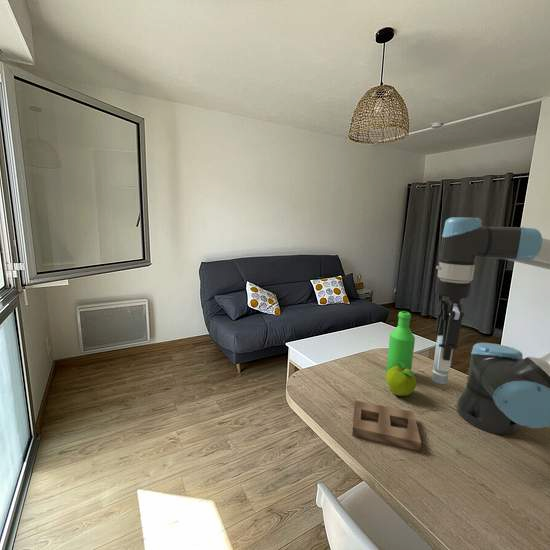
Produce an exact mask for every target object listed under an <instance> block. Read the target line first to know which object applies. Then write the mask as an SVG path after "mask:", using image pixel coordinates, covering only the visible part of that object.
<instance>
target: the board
mask: <svg viewBox="0 0 550 550" xmlns="http://www.w3.org/2000/svg"><path fill="white" fill-rule="evenodd" d="M362 418H365V419H370V420H375V421H377V422H373V421H367V420H363V419H362ZM352 420H353V421H352V431H351V432H352V433H351V434H352V436H354V437H356V438H357V437H358V438H363V439H365V440H369V441H374V442H375V441H376V442H379V443H383V444H387V445H393V446H395V447H396V446H397V447H401V448H406V449H410V450H413V451H418V452H421V448H422V441H421V436H420V433H419V428H418V425H417V421H416V420H417V419H416V416H415V412H414V411H412V410H411V411H410V410H407V409H401V408H395V407H391V406H385V405H381V404H380V405H379V404H377V403H375V404H374V403H371V402H365V401H361V400H357V399H356V400H354V406H353V418H352ZM391 424H394V425H399V426H403V427H407V429H406V428H401V427H396V426H392V425H391Z"/></svg>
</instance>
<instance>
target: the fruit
mask: <svg viewBox="0 0 550 550" xmlns="http://www.w3.org/2000/svg"><path fill="white" fill-rule="evenodd" d="M396 364H397V365H398V366H394V367H392V368H391V369H389V370H388V371H386V374H385V380H386V383H387V386H388V388H389V389H390V391H391V392H392V393H393V394H394V395H396V396H399V397H406V396H409V395H411V393H413V392H414V391H415V389H416V387H417V378H416V376H415V374H414V372H413V370H412V369H411V370H409V369H407V368H405V365H404V363H402V362H396Z"/></svg>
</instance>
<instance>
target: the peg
mask: <svg viewBox="0 0 550 550" xmlns="http://www.w3.org/2000/svg"><path fill="white" fill-rule="evenodd" d="M442 340H443V336H442V335H440V336H438V337H437V336H436V343H437V344H436V345H435V350H436V351H435V352H434V357H435V358H434V359H433V367H432V372H431V373H432V374H431V380H432V382H434V383H436V384H441V385H446V384H447V383H448V379H449V374H450V372H447V371H441V370H438V369H437V366H438V359H439V352H440V347H439V344H442Z"/></svg>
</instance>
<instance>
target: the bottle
mask: <svg viewBox="0 0 550 550" xmlns="http://www.w3.org/2000/svg"><path fill="white" fill-rule="evenodd" d="M397 317H398V322H397V326H396V327H395V328H394V329H393V330H392V331H391V332H390V333H389V342H388V351H387V362H386V372H387V371H388V370H389V369H391V368H392V367H394V366H398V365H397V364H396V362H402V363H404V365H405V368H407V369H409V370H411V371H412V368H413V357H414V353H415V351H414V350H415V343H416V342H415V341H416V337H415V335H414V334H413V332H412V329H410V322H411V318H412V315H411V313H410V312H409V311H404V310H402V311H399V312H398V315H397Z"/></svg>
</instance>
